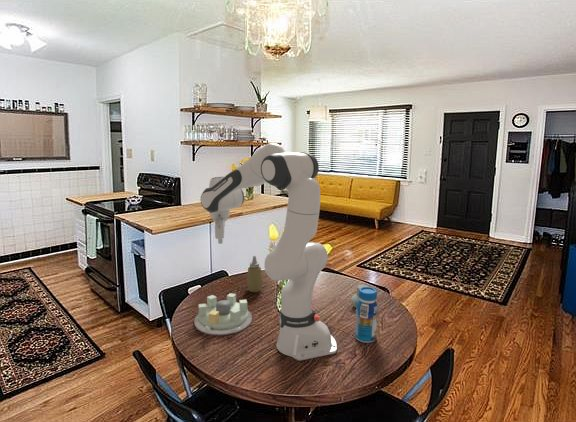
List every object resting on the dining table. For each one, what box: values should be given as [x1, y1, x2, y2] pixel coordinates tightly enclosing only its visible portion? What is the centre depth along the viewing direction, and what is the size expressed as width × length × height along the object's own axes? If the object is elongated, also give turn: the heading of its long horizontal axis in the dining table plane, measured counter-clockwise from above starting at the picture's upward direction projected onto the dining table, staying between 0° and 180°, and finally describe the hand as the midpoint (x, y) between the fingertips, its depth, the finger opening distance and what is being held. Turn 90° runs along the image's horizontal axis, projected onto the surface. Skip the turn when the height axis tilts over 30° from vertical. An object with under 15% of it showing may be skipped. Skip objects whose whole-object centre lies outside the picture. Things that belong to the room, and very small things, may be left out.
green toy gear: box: [197, 292, 249, 330], centre depth 155 cm, size 21×21×6 cm
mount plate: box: [193, 310, 253, 336], centre depth 155 cm, size 24×24×3 cm
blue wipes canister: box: [354, 286, 379, 344], centre depth 142 cm, size 8×8×20 cm
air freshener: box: [350, 284, 370, 309], centre depth 168 cm, size 11×8×10 cm
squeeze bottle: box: [246, 255, 263, 293], centre depth 184 cm, size 8×8×18 cm
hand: (220, 242), depth 166 cm, fingers closed
